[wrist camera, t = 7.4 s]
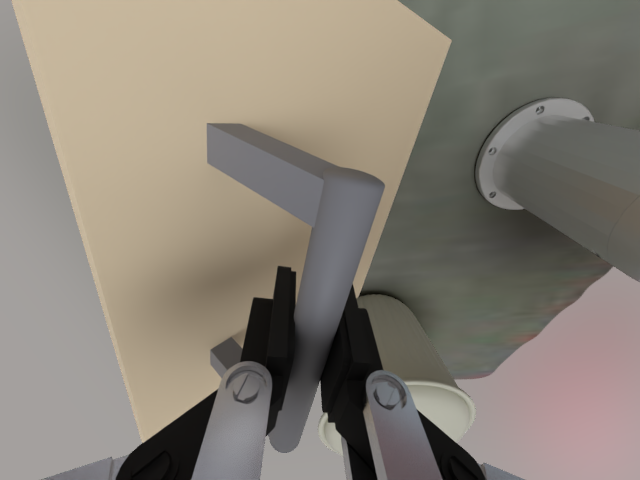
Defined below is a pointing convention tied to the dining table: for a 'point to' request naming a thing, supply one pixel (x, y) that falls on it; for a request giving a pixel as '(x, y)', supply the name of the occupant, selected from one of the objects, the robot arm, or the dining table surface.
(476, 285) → the dining table surface
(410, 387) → the canister
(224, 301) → the carton lid
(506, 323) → the dining table surface
